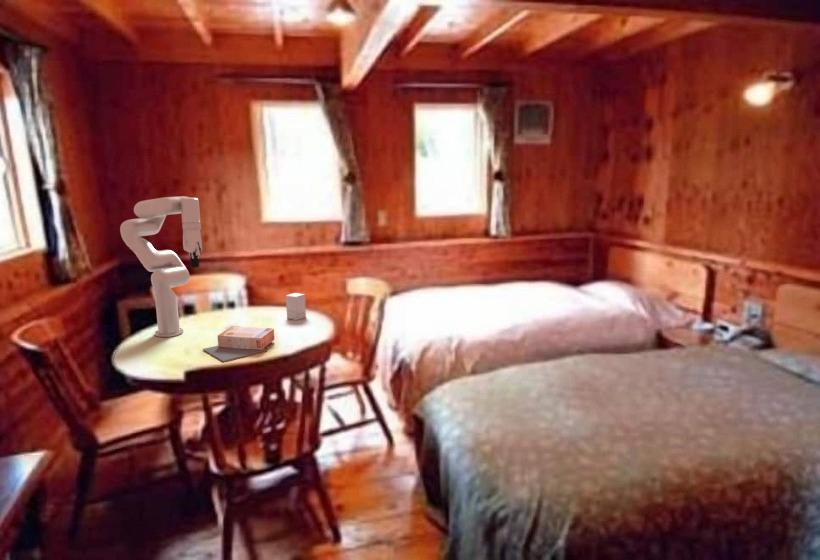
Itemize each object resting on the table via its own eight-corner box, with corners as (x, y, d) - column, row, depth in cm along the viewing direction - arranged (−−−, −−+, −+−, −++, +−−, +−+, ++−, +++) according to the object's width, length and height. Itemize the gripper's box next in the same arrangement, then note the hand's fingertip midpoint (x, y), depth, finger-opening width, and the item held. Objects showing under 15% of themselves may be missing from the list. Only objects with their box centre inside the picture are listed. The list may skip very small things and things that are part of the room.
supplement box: (306, 317, 298) (305, 294, 296) (296, 320, 292) (295, 297, 290) (296, 315, 302) (295, 292, 300) (286, 318, 296) (285, 295, 293)
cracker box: (217, 348, 248) (261, 350, 245) (216, 335, 247) (260, 337, 243) (233, 338, 262) (275, 340, 258) (232, 325, 260) (274, 327, 257)
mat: (202, 350, 246) (202, 348, 246) (245, 340, 260) (245, 339, 260) (223, 362, 232) (223, 360, 232) (266, 351, 246) (266, 350, 245)
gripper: (176, 225, 249) (179, 265, 253) (190, 228, 239) (193, 270, 242) (193, 223, 254) (196, 263, 258) (207, 226, 244) (210, 268, 247)
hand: (194, 266), depth 250 cm, fingers closed
